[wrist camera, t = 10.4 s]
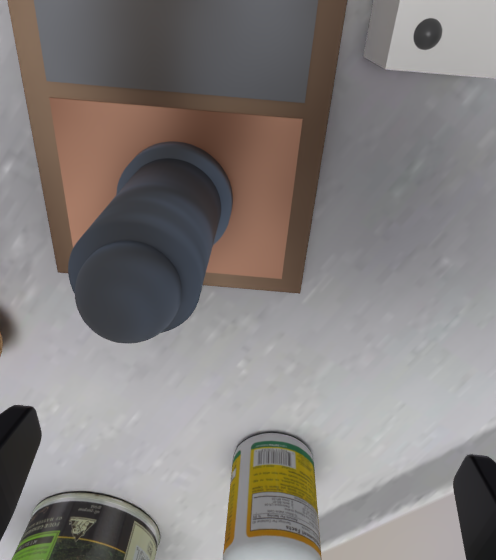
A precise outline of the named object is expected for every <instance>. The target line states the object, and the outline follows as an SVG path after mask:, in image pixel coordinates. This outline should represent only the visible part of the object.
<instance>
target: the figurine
mask: <svg viewBox="0 0 496 560" xmlns="http://www.w3.org/2000/svg"><path fill="white" fill-rule="evenodd" d="M2 348H3V340H2V335H1V332H0V356H1V353H2Z"/></svg>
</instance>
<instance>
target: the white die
mask: <svg viewBox="0 0 496 560" xmlns="http://www.w3.org/2000/svg"><path fill="white" fill-rule="evenodd" d="M363 57H365V58H366V59H368V60H370V61H371V62H373V63H375V64H377V65H378V66H380V67H382V68H384V69H386V70H398V71H410V72H421V73H433V74H445V75H457V76H469V77H480V78H492V79H496V0H374V1H373V6H372V11H371V17H370V22H369V27H368V32H367V38H366V43H365V48H364V54H363Z"/></svg>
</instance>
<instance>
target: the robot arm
mask: <svg viewBox="0 0 496 560" xmlns="http://www.w3.org/2000/svg"><path fill="white" fill-rule="evenodd" d="M41 436H42V434H41V428H40V424H39V420H38V417H37V413H36V410H35V409H34V408H33V407H31V406H23V405H14V406H12V407H10V408H8V409H7V410H5V411H4V412H3V413H1V414H0V541H1V539H2V536H3V534H4V532H5V530H6V528H7V526H8V524H9V522H10V520H11V518H12V516H13V513H14V511H15V508H16V506H17V503H18V501H19V498H20V495H21V493H22V490H23V487H24V485H25V482H26V479H27V477H28V474H29V471H30V469H31V466H32V463H33V461H34V458H35V455H36V453H37V450H38V447H39V445H40V442H41ZM453 489H454V495H455V500H456V505H457V511H458V516H459V522H460V528H461V533H462V539H463V544H464V550H465V555H466V559H467V560H496V463H495V462H494V461H493V460H492V459H491V458H489V457H488V456H483V455H474V454H469V455H467V456H466V457H465V458H464V460H463V462H462V464H461V466H460V468H459V469H458V471H457V473H456V475H455V477H454V481H453Z"/></svg>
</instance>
